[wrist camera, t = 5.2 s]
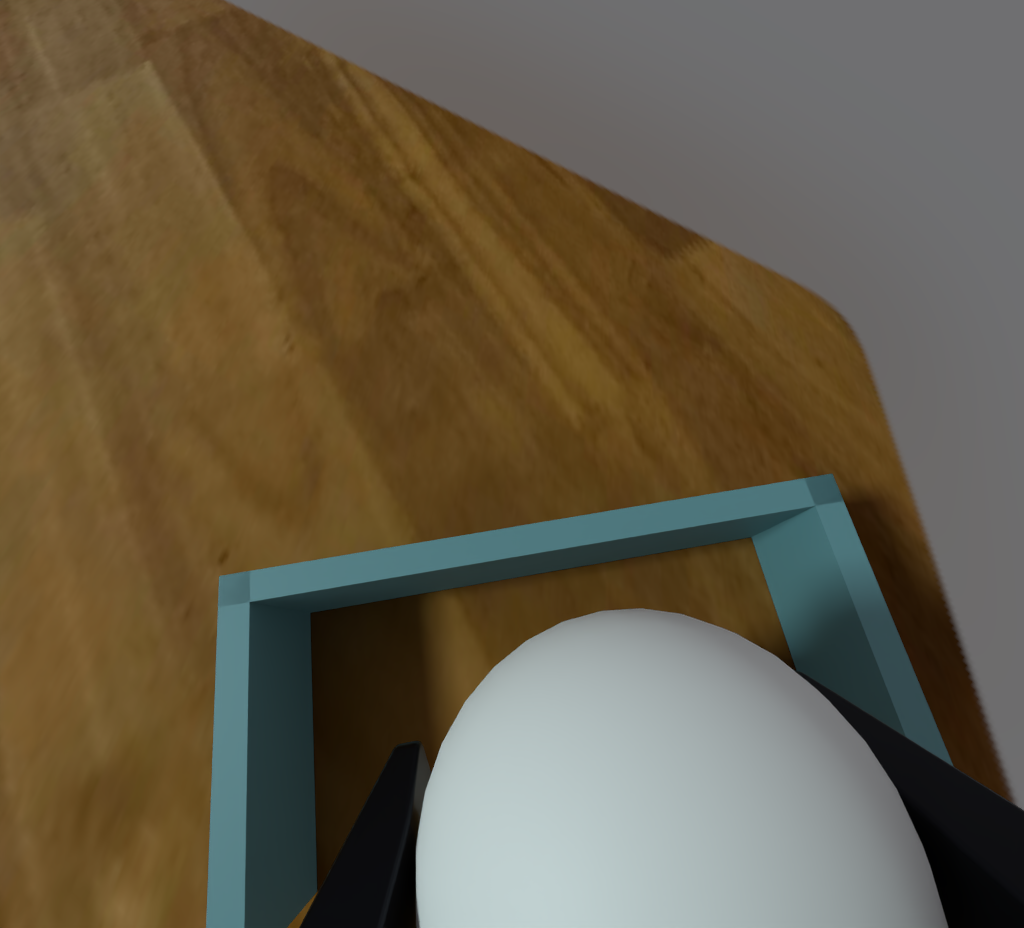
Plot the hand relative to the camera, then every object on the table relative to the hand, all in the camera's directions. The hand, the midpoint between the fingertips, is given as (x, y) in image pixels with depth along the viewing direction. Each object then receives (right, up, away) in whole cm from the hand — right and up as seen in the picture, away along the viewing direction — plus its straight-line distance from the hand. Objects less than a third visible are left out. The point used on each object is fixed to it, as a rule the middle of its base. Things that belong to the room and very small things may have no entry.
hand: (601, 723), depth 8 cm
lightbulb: (0, -4, +6) cm, 7 cm away
